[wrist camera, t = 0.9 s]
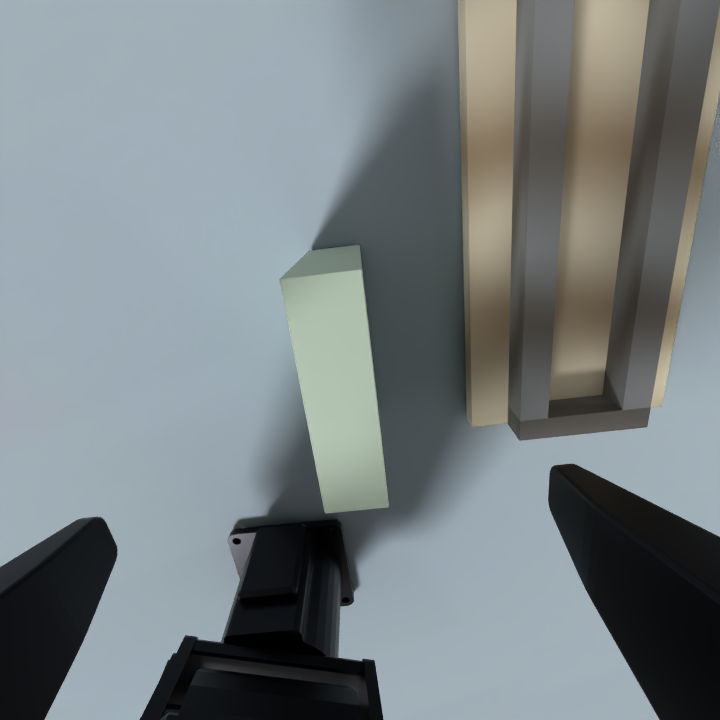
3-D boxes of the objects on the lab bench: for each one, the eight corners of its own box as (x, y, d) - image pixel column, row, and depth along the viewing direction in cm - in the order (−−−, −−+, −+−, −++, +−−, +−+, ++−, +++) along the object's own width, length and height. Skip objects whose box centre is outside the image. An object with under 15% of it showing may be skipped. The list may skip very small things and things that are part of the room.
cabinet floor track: (647, 397, 20) (686, 422, 17) (466, 416, 20) (481, 444, 18) (758, -266, 12) (858, -384, 9) (453, -215, 12) (476, -318, 10)
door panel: (378, 407, 20) (389, 507, 13) (335, 412, 20) (324, 513, 13) (359, 244, 17) (361, 269, 10) (309, 250, 17) (279, 279, 10)
